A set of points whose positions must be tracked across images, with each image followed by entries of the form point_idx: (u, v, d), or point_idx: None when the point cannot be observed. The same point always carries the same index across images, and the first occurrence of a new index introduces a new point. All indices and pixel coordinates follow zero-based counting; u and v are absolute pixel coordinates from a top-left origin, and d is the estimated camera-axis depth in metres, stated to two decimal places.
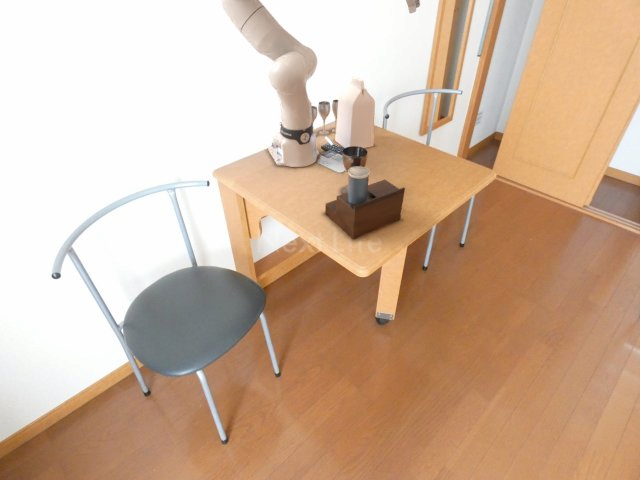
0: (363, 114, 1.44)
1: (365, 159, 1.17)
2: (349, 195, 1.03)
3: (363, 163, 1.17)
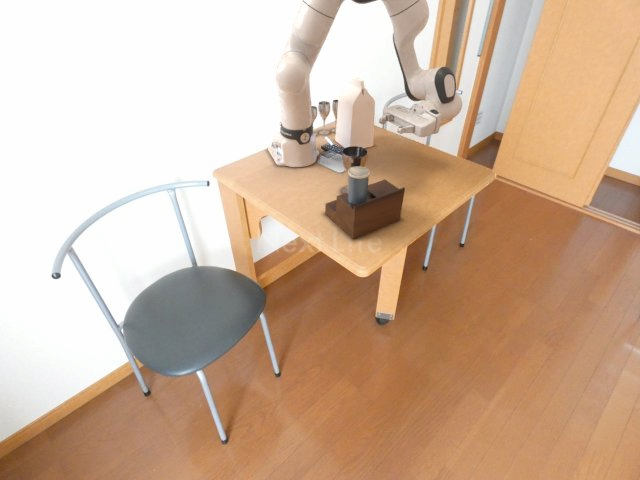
0: (363, 114, 1.44)
1: (365, 159, 1.17)
2: (349, 195, 1.03)
3: (363, 163, 1.17)
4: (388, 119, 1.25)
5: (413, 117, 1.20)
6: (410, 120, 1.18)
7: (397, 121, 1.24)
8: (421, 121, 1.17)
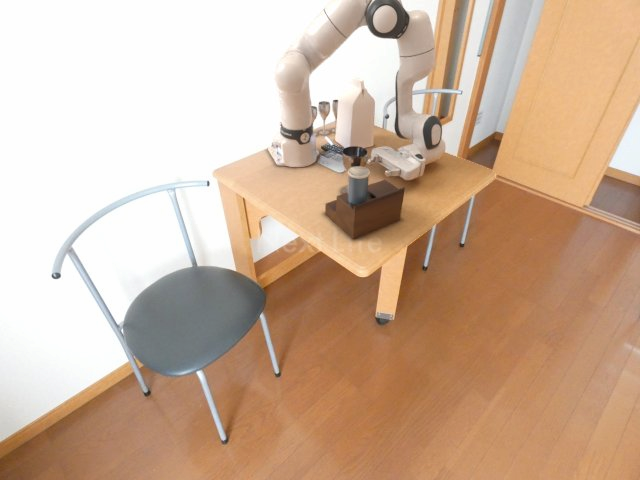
0: (363, 114, 1.44)
1: (365, 159, 1.17)
2: (349, 195, 1.03)
3: (363, 163, 1.17)
4: (376, 160, 1.33)
5: (399, 160, 1.28)
6: (396, 164, 1.26)
7: (384, 162, 1.32)
8: (406, 165, 1.26)
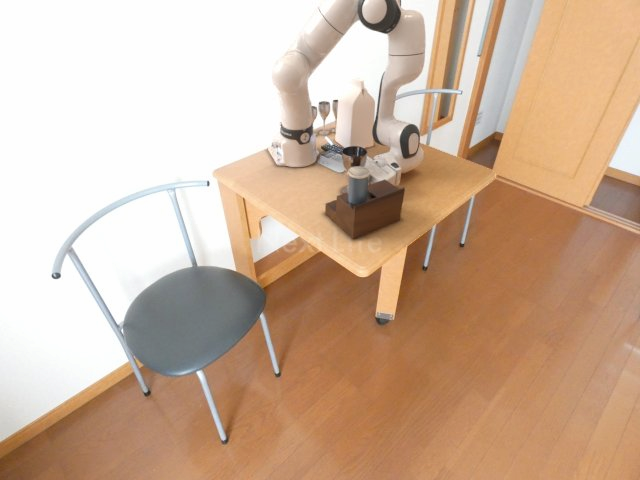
0: (363, 114, 1.44)
1: (365, 159, 1.17)
2: (349, 195, 1.03)
3: (363, 163, 1.18)
4: None
5: (374, 169, 1.24)
6: (371, 173, 1.22)
7: None
8: (381, 174, 1.21)
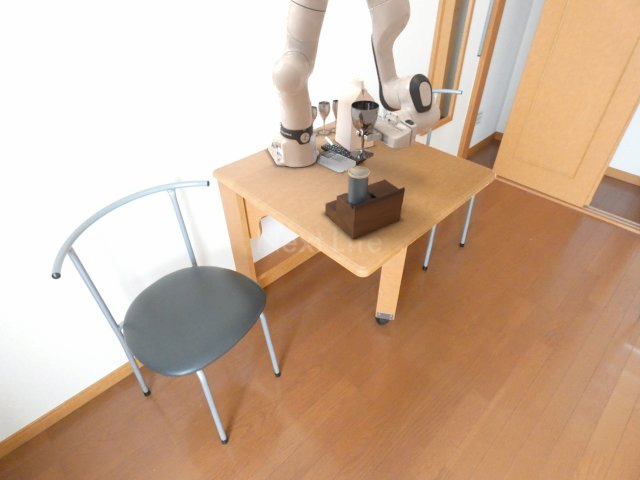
0: None
1: (376, 113, 1.05)
2: (349, 195, 1.03)
3: (374, 117, 1.05)
4: None
5: (387, 127, 1.11)
6: (383, 130, 1.09)
7: None
8: (395, 131, 1.08)
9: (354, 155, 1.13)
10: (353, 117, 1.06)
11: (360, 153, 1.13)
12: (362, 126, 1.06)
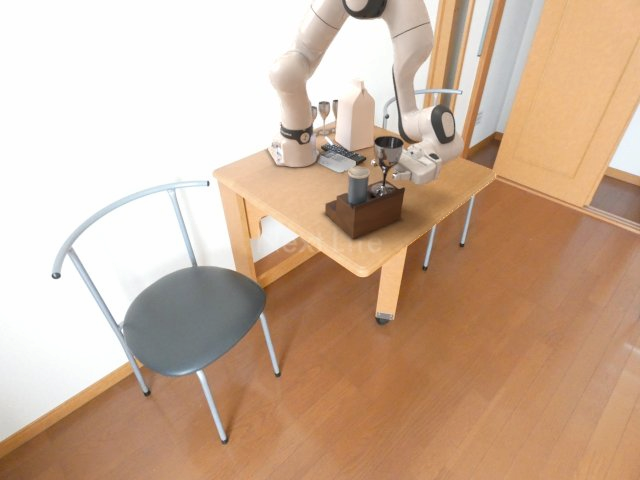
0: (363, 114, 1.44)
1: (401, 151, 1.00)
2: (349, 195, 1.03)
3: (398, 156, 1.00)
4: None
5: (410, 161, 1.05)
6: (407, 165, 1.04)
7: None
8: (419, 166, 1.03)
9: (375, 191, 1.08)
10: (376, 154, 1.01)
11: (381, 189, 1.08)
12: (385, 164, 1.01)
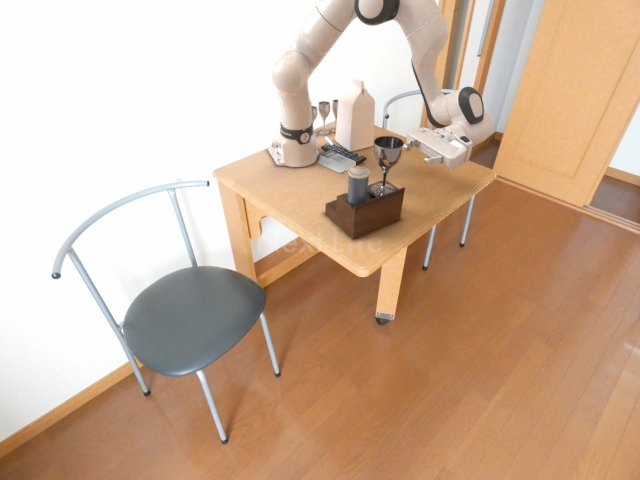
0: (363, 114, 1.44)
1: (401, 151, 1.00)
2: (349, 195, 1.03)
3: (398, 156, 1.00)
4: (413, 145, 1.15)
5: (441, 145, 1.10)
6: (438, 149, 1.08)
7: (423, 147, 1.14)
8: (450, 150, 1.07)
9: (375, 191, 1.08)
10: (376, 154, 1.01)
11: (381, 189, 1.08)
12: (385, 164, 1.01)
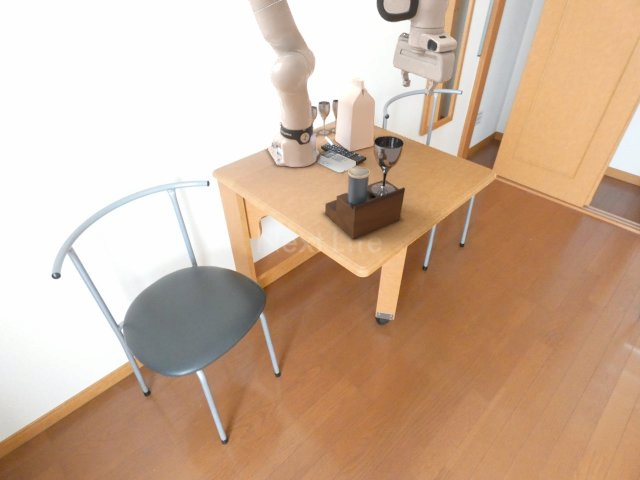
0: (363, 114, 1.44)
1: (401, 151, 1.00)
2: (349, 195, 1.03)
3: (398, 156, 1.00)
4: (408, 72, 1.09)
5: (423, 65, 1.01)
6: (425, 75, 1.02)
7: None
8: (432, 68, 0.99)
9: (375, 191, 1.08)
10: (376, 154, 1.01)
11: (381, 189, 1.08)
12: (385, 164, 1.01)
